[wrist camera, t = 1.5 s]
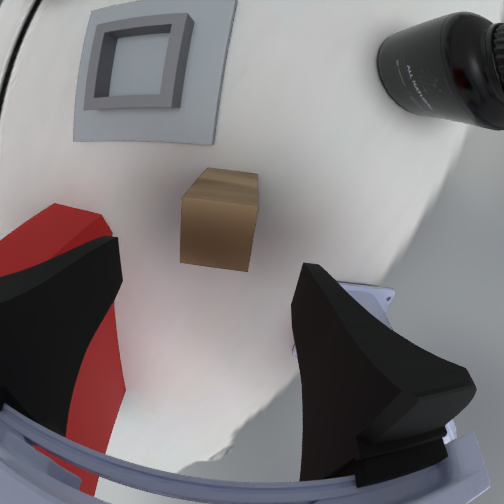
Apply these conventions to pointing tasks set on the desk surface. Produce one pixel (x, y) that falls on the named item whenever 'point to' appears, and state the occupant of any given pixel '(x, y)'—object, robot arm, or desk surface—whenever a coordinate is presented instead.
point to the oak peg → (219, 219)
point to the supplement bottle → (448, 69)
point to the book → (102, 344)
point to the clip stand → (153, 71)
